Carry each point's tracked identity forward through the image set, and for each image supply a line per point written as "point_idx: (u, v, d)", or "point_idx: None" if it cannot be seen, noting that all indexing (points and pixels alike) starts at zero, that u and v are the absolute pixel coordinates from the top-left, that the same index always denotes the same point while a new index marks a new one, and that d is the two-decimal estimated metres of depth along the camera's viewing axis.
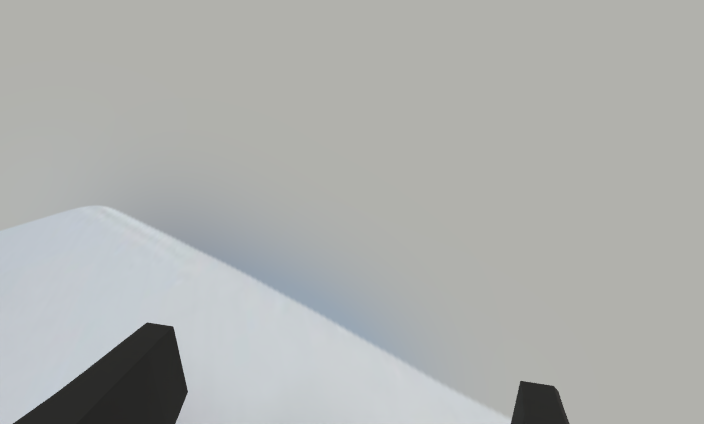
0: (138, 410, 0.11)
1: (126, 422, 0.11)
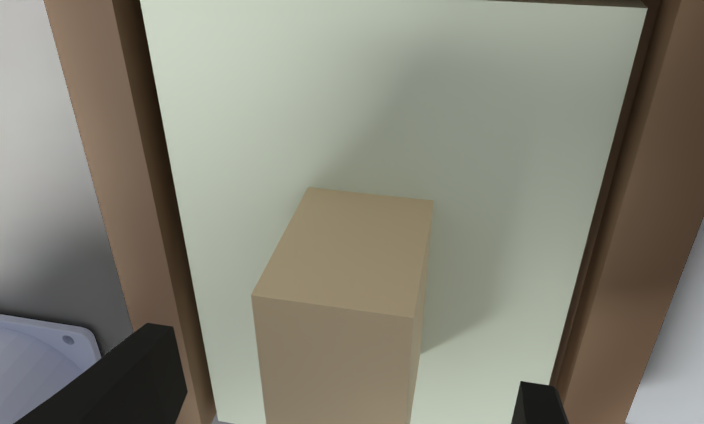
0: (138, 410, 0.11)
1: (126, 422, 0.11)
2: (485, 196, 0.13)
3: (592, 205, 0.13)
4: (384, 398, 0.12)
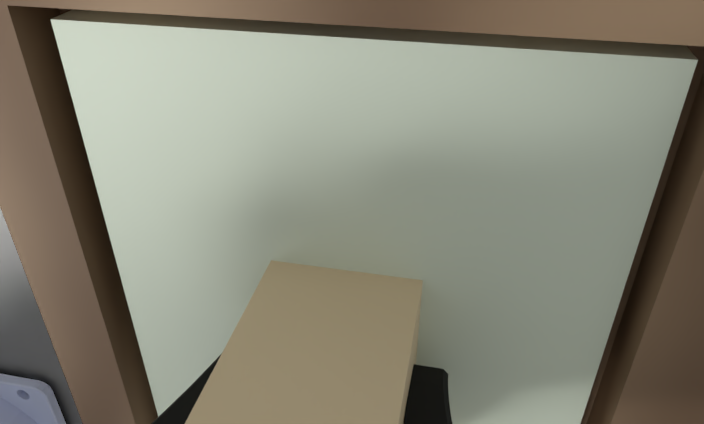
0: None
1: None
2: (486, 277, 0.11)
3: (618, 292, 0.10)
4: None
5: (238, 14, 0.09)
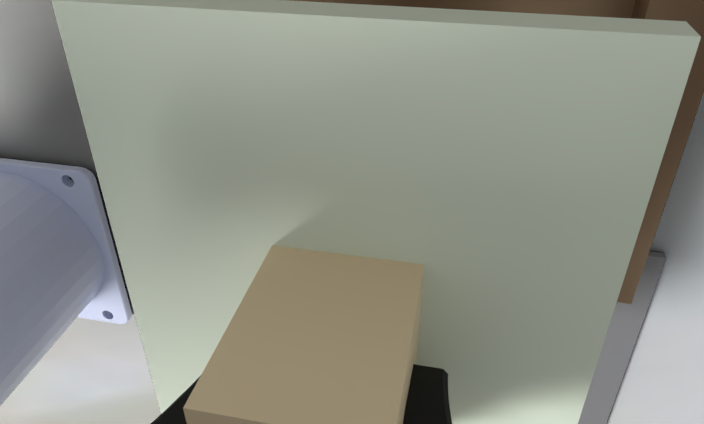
0: None
1: None
2: (487, 261, 0.11)
3: (620, 275, 0.10)
4: None
5: None
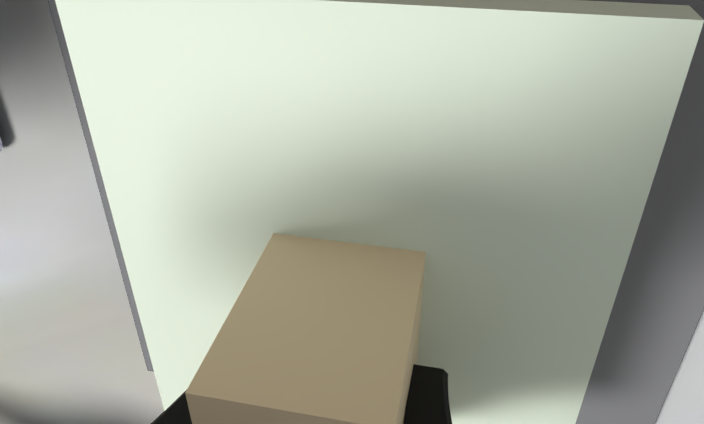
0: None
1: None
2: (489, 248, 0.11)
3: (622, 262, 0.10)
4: None
5: None
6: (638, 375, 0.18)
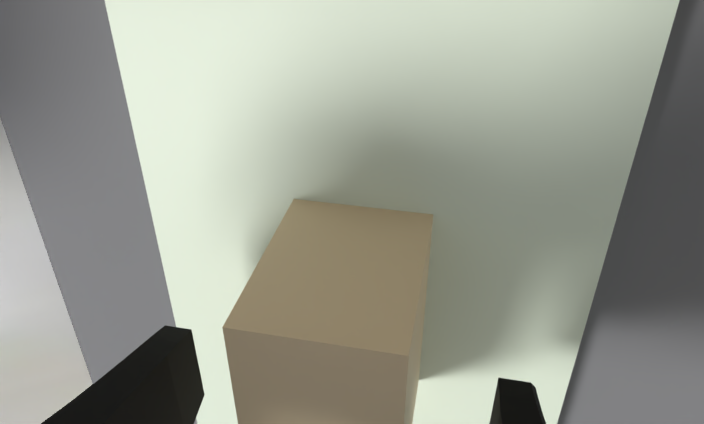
0: (157, 413, 0.11)
1: None
2: (491, 210, 0.12)
3: (611, 221, 0.12)
4: None
5: None
6: None
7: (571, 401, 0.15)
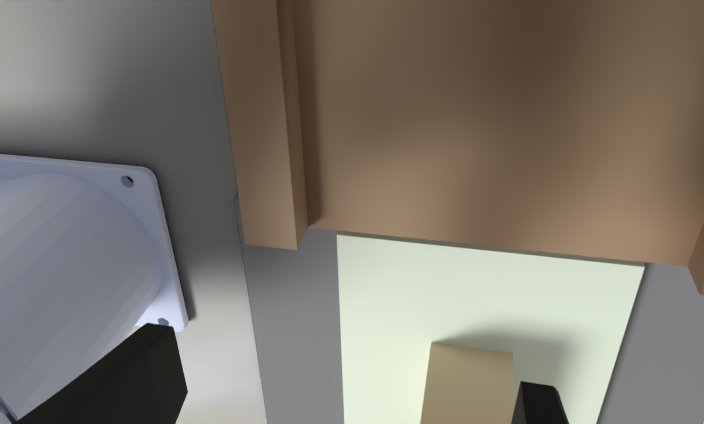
0: (138, 410, 0.11)
1: (126, 422, 0.11)
2: (546, 352, 0.22)
3: (613, 360, 0.21)
4: None
5: None
6: None
7: None
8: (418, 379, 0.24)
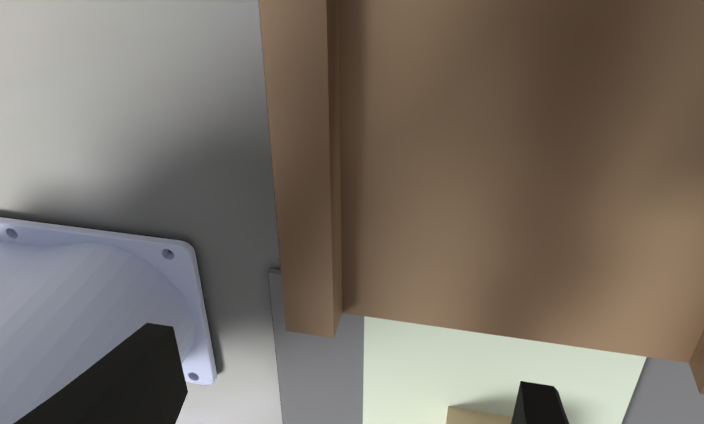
0: (138, 410, 0.11)
1: (126, 422, 0.11)
2: None
3: None
4: None
5: None
6: None
7: None
8: None
